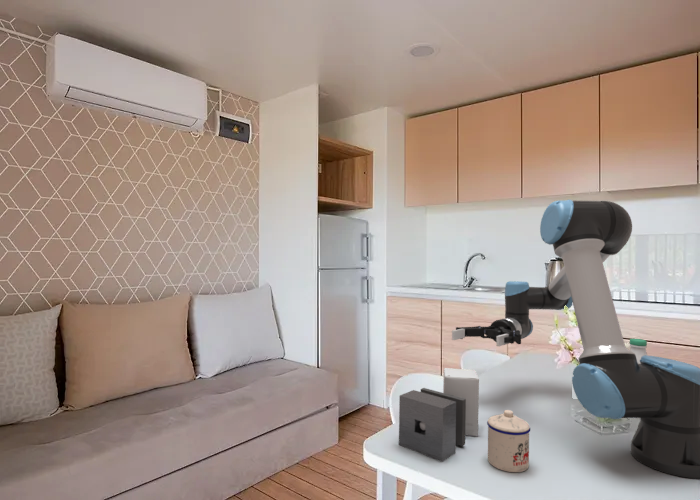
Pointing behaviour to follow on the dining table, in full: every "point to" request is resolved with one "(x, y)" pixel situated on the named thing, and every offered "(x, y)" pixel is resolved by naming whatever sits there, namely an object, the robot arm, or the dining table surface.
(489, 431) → the teacup with lid
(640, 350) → the milk bottle
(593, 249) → the robot arm
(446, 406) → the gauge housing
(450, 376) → the supplement box
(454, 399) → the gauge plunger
